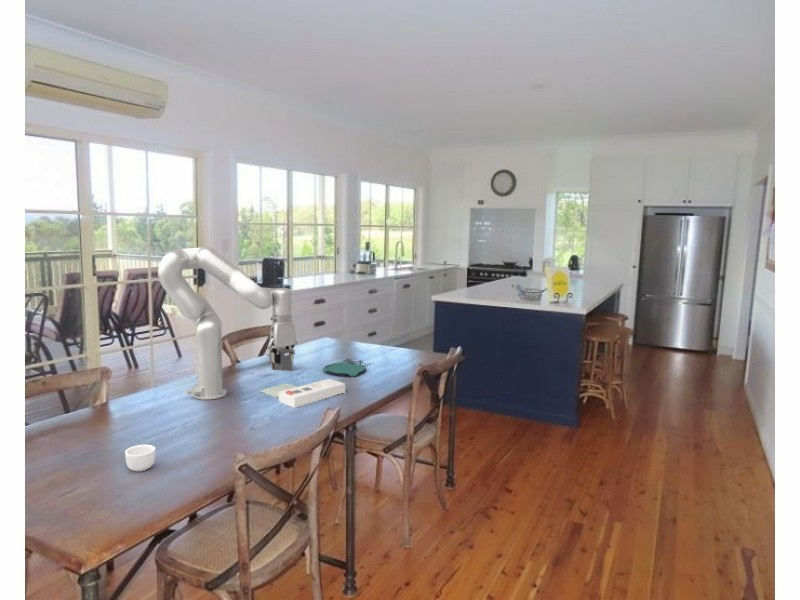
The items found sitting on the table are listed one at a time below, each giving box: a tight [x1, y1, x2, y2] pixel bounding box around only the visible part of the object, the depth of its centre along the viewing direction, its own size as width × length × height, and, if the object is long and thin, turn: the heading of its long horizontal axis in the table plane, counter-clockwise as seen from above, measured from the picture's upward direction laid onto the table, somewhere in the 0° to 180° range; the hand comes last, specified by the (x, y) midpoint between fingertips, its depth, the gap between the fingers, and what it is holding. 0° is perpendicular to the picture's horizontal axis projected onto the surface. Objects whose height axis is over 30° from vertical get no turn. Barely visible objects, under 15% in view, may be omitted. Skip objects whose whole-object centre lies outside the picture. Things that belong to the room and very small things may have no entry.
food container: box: [269, 347, 296, 372], centre depth 259 cm, size 12×6×10 cm, turn 84°
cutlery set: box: [322, 357, 367, 378], centre depth 264 cm, size 20×30×2 cm, turn 161°
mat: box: [259, 382, 297, 399], centre depth 227 cm, size 14×12×1 cm
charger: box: [274, 348, 291, 372], centre depth 225 cm, size 4×6×8 cm
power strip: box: [278, 378, 346, 409], centre depth 220 cm, size 26×10×5 cm, turn 139°
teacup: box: [124, 444, 156, 472], centre depth 155 cm, size 10×8×5 cm
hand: (282, 361), depth 225 cm, fingers closed on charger, 4 cm apart
